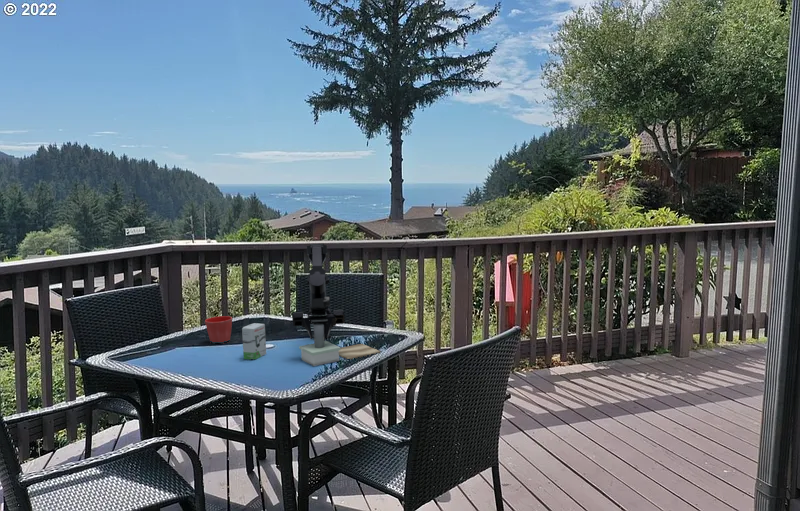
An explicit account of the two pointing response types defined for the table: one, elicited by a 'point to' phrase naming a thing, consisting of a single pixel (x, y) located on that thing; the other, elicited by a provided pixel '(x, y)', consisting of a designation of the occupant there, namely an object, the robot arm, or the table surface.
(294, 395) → the table surface
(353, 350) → the tan wooden square board
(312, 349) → the lid
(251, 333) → the ink box
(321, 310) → the robot arm
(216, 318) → the flower pot
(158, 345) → the table surface
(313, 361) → the storage box
